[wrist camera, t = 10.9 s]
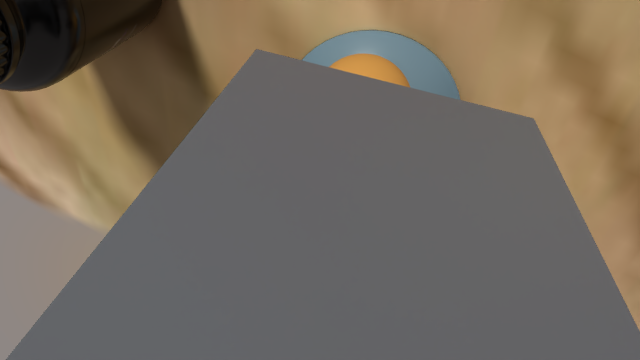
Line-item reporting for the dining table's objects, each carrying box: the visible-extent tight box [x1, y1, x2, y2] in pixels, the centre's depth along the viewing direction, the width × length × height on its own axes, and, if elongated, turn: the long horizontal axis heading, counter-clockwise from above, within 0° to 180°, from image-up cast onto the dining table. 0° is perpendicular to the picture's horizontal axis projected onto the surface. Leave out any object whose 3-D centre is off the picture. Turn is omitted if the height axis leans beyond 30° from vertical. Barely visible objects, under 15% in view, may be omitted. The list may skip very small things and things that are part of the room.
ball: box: [329, 53, 410, 87], centre depth 24 cm, size 5×5×5 cm
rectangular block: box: [6, 49, 640, 360], centre depth 10 cm, size 7×9×9 cm
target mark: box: [302, 30, 460, 100], centre depth 27 cm, size 10×10×1 cm
